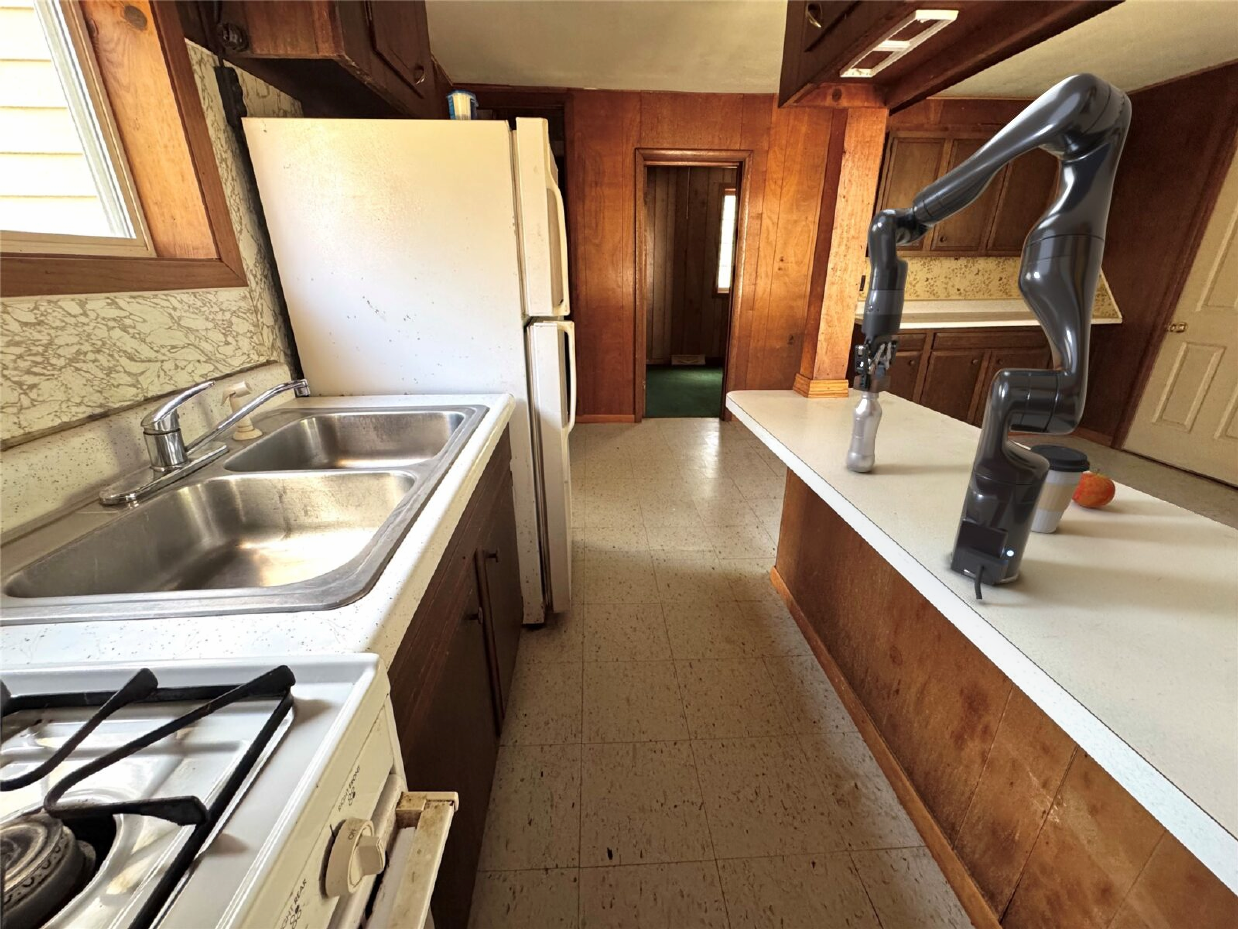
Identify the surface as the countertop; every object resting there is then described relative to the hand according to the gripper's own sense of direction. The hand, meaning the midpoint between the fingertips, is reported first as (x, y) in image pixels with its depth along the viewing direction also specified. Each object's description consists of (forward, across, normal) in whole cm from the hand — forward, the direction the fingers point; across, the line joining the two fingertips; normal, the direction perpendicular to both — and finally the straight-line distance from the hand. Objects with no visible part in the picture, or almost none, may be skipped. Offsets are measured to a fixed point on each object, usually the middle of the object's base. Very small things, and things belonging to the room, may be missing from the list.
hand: (871, 387), depth 117 cm
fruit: (+21, +17, -39) cm, 47 cm away
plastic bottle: (+21, 0, 0) cm, 21 cm away
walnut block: (+1, 0, 0) cm, 1 cm away
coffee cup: (+21, 0, -36) cm, 42 cm away
